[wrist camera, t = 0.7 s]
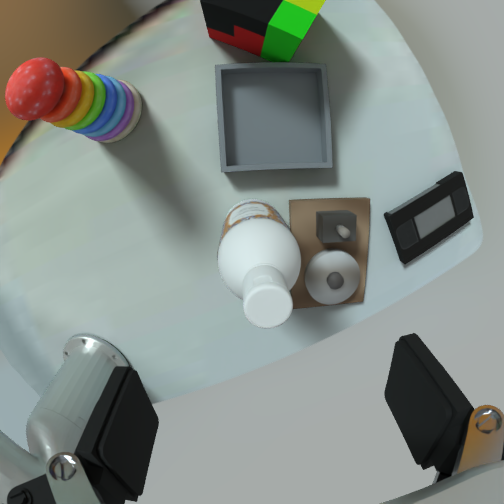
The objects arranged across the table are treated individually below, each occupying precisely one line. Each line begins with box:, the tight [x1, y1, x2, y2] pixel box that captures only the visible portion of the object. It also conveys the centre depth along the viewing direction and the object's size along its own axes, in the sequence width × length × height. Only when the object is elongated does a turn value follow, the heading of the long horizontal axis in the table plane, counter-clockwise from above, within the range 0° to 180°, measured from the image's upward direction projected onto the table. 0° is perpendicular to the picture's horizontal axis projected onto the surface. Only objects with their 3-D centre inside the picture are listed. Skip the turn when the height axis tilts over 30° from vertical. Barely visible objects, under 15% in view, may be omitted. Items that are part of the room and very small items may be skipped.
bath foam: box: [217, 199, 301, 328], centre depth 27 cm, size 7×7×20 cm
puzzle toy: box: [200, 0, 326, 62], centre depth 23 cm, size 10×10×10 cm
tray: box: [215, 62, 332, 172], centre depth 31 cm, size 12×12×3 cm
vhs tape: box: [384, 171, 474, 264], centre depth 36 cm, size 8×14×2 cm, turn 119°
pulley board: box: [289, 198, 370, 309], centre depth 35 cm, size 14×10×6 cm
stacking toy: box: [5, 58, 142, 143], centre depth 22 cm, size 8×8×19 cm
